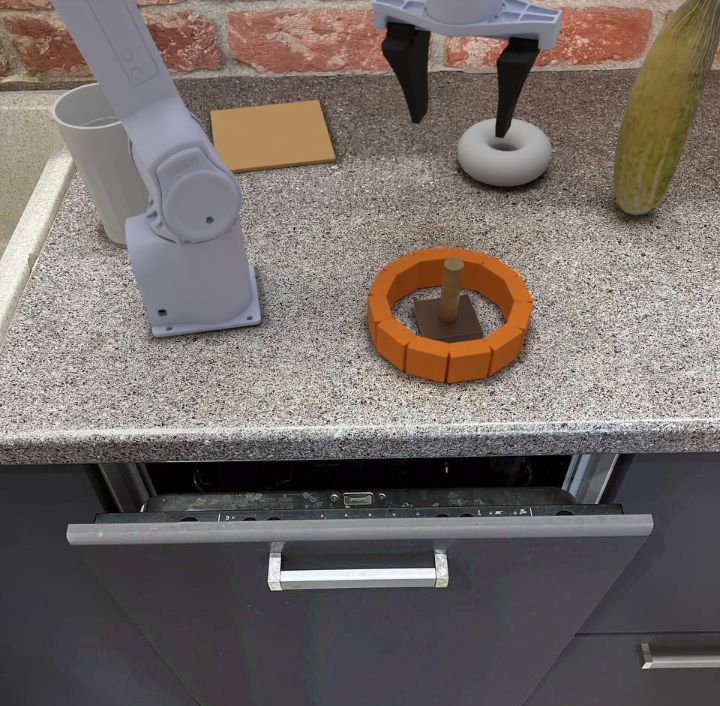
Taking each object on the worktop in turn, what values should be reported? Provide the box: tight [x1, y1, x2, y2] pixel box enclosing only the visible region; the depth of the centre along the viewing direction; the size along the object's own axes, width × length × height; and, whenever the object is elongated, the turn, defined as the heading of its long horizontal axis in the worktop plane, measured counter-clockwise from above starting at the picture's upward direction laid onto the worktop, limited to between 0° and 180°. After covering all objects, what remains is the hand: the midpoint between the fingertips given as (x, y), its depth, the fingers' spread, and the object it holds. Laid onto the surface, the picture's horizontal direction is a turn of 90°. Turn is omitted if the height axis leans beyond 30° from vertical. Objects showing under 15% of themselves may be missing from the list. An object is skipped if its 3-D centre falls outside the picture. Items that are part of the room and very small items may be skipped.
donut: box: [456, 117, 553, 187], centre depth 73 cm, size 10×3×10 cm
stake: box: [412, 258, 484, 343], centre depth 58 cm, size 5×5×6 cm
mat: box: [209, 99, 337, 174], centre depth 78 cm, size 13×13×1 cm
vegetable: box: [613, 0, 720, 216], centre depth 62 cm, size 6×6×20 cm
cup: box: [51, 82, 150, 246], centre depth 64 cm, size 8×8×12 cm
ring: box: [366, 246, 534, 384], centre depth 59 cm, size 14×14×3 cm
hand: (460, 124), depth 60 cm, fingers open, 7 cm apart
